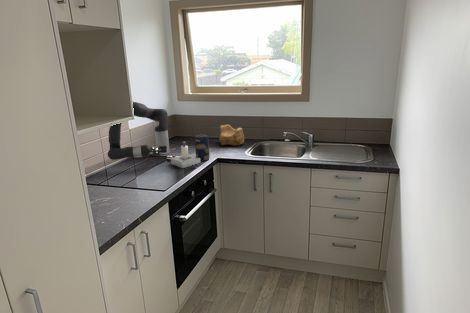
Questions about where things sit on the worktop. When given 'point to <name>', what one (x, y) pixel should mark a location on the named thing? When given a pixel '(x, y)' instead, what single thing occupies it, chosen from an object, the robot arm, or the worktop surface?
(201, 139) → the canister
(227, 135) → the rough brown rock
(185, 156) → the capped white bottle
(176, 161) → the grey square socket block
